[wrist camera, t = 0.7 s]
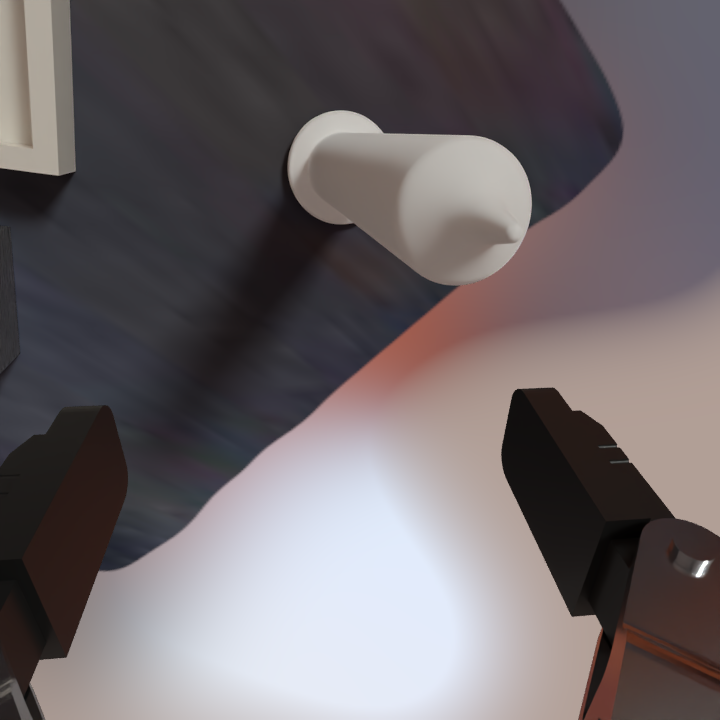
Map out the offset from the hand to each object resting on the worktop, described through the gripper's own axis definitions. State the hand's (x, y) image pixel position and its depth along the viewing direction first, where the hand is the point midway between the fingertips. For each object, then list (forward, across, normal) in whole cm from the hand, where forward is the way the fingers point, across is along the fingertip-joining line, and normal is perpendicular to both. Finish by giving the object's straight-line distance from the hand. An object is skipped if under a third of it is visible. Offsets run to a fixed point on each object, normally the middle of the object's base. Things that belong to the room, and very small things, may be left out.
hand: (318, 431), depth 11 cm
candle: (+29, -2, +1) cm, 29 cm away
